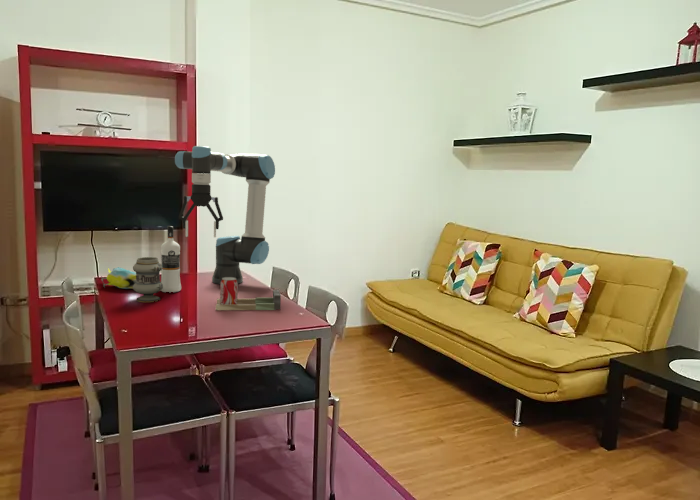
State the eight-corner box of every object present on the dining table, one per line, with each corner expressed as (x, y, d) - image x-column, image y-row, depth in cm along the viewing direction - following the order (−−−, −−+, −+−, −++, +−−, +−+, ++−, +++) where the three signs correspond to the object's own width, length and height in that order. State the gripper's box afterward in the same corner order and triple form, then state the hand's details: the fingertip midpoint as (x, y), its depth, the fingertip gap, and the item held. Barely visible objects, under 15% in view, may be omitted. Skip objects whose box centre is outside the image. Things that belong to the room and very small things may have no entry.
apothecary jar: (132, 297, 245) (132, 256, 243) (161, 296, 250) (161, 255, 247) (133, 303, 234) (133, 260, 232) (164, 302, 239) (164, 260, 236)
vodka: (181, 288, 266) (181, 225, 262) (180, 292, 258) (180, 227, 254) (160, 288, 264) (160, 224, 260) (159, 293, 255) (159, 227, 251)
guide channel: (217, 303, 241) (217, 289, 240) (278, 303, 245) (278, 289, 245) (215, 310, 229) (215, 295, 228) (280, 309, 234) (280, 295, 233)
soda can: (233, 309, 232) (233, 280, 230) (217, 307, 233) (217, 279, 231) (240, 305, 238) (240, 277, 237) (224, 304, 240) (224, 276, 238)
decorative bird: (135, 294, 252) (135, 273, 251) (85, 286, 263) (84, 266, 262) (157, 288, 265) (157, 269, 263) (108, 281, 276) (108, 262, 275)
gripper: (170, 183, 229) (170, 237, 232) (229, 185, 233) (228, 238, 236) (173, 182, 236) (173, 235, 239) (230, 184, 240) (229, 236, 243)
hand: (200, 236), depth 237 cm, fingers open, 11 cm apart
